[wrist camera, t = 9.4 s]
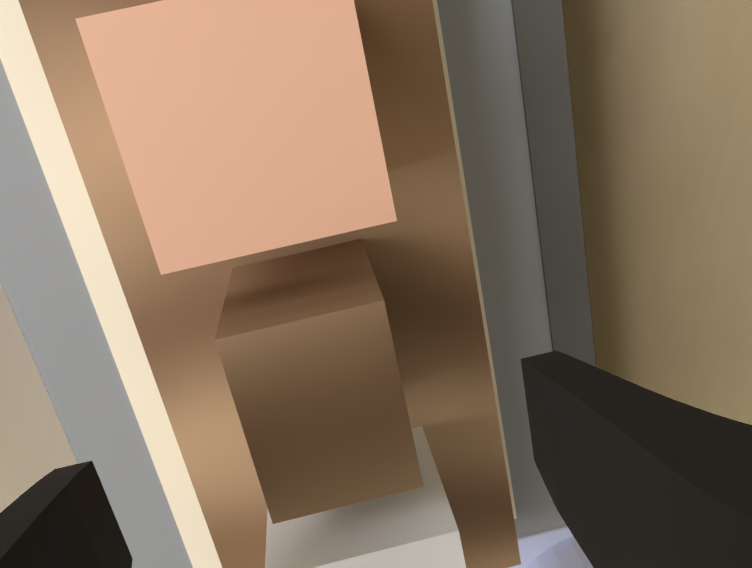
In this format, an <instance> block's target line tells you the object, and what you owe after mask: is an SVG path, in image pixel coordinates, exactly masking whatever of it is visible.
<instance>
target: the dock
mask: <svg viewBox="0 0 752 568" xmlns="http://www.w3.org/2000/svg"><path fill="white" fill-rule="evenodd" d="M432 1H433V7H434V14H435V20H436V27H437V33H438V39H439V46H440V52H441V58H442V65H443V71H444V77H445V84H446V90H447V96H448V103H449V109H450V115H451V122H452V128H453V134H454V141H455V147H456V154H457V160H458V166H459V173H460V179H461V185H462V192H463V198H464V204H465V211H466V217H467V223H468V230H469V236H470V242H471V249H472V255H473V261H474V268H475V274H476V281H477V287H478V293H479V300H480V306H481V312H482V319H483V325H484V331H485V338H486V344H487V350H488V357H489V363H490V369H491V376H492V382H493V389H494V395H495V401H496V408H497V414H498V420H499V427H500V433H501V439H502V446H503V452H504V458H505V465H506V471H507V477H508V484H509V490H510V496H511V503H512V509H513V516H514V522H515V528H516V534H520V533H524V532H528V531H532V530H536V529H540V528H544V527H548V526H552V525H556V524H560V523H564V520H563V519H562V517H561V515H560V514H559V512H558V511H557V509H556V506H555V504H554V502H553V500H552V498H551V496H550V494H549V492H548V490H547V488H546V485H545V483H544V481H543V479H542V477H541V474H540V472H539V470H538V468H537V466H536V463H535V461H534V455H533V448H532V440H531V433H530V425H529V418H528V411H527V403H526V396H525V388H524V381H523V373H522V366H521V359H522V358H526V357H531V356H535V355H539V354H543V353H548V352H552V351H559V352H561V353H564V354H567V355H569V356H572V357H574V358H576V359H579V360H581V361H583V362H585V363H588V364H590V365H592V366H594V367H596V361H595V351H594V340H593V329H592V319H591V308H590V297H589V286H588V276H587V265H586V254H585V244H584V233H583V222H582V212H581V201H580V190H579V180H578V169H577V158H576V148H575V137H574V126H573V115H572V105H571V94H570V83H569V73H568V62H567V51H566V41H565V30H564V19H563V9H562V0H432ZM0 282H1V285H2V287H3V289H4V292H5V294H6V296H7V299H8V301H9V303H10V306H11V308H12V310H13V313H14V315H15V317H16V320H17V322H18V324H19V327H20V329H21V332H22V334H23V336H24V339H25V341H26V343H27V346H28V348H29V350H30V353H31V355H32V357H33V360H34V362H35V364H36V367H37V369H38V371H39V374H40V376H41V378H42V381H43V383H44V385H45V388H46V390H47V393H48V395H49V397H50V400H51V402H52V404H53V407H54V409H55V411H56V414H57V416H58V418H59V421H60V423H61V425H62V428H63V430H64V432H65V435H66V437H67V439H68V442H69V444H70V446H71V449H72V451H73V454H74V456H75V458H76V461H77V463H78V464H80V463H84V462H88V461H93V464H94V466H95V469H96V471H97V474H98V476H99V478H100V481H101V483H102V486H103V488H104V491H105V493H106V495H107V498H108V500H109V503H110V505H111V508H112V510H113V512H114V515H115V517H116V520H117V522H118V525H119V527H120V529H121V532H122V534H123V537H124V539H125V542H126V544H127V546H128V549H129V551H130V554H131V556H132V559H133V560H132V568H222V565H221V562H220V560H219V557H218V554H217V551H216V548H215V546H214V543H213V540H212V537H211V535H210V532H209V529H208V526H207V523H206V521H205V518H204V515H203V512H202V510H201V507H200V504H199V501H198V498H197V496H196V493H195V490H194V487H193V485H192V482H191V479H190V476H189V473H188V471H187V468H186V465H185V462H184V459H183V457H182V454H181V451H180V448H179V446H178V443H177V440H176V437H175V434H174V432H173V429H172V426H171V423H170V421H169V418H168V415H167V412H166V409H165V407H164V404H163V401H162V398H161V396H160V393H159V390H158V387H157V384H156V382H155V379H154V376H153V373H152V371H151V368H150V365H149V362H148V359H147V357H146V354H145V351H144V348H143V345H142V343H141V340H140V337H139V334H138V332H137V329H136V326H135V323H134V320H133V318H132V315H131V312H130V309H129V307H128V304H127V301H126V298H125V295H124V293H123V290H122V287H121V284H120V282H119V279H118V276H117V273H116V270H115V268H114V265H113V262H112V259H111V257H110V254H109V251H108V248H107V245H106V243H105V240H104V237H103V234H102V232H101V229H100V226H99V223H98V220H97V218H96V215H95V212H94V209H93V206H92V204H91V201H90V198H89V195H88V193H87V190H86V187H85V184H84V181H83V179H82V176H81V173H80V170H79V168H78V165H77V162H76V159H75V156H74V154H73V151H72V148H71V145H70V143H69V140H68V137H67V134H66V131H65V129H64V126H63V123H62V120H61V118H60V115H59V112H58V109H57V106H56V104H55V101H54V98H53V95H52V92H51V90H50V87H49V84H48V81H47V79H46V76H45V73H44V70H43V67H42V65H41V62H40V59H39V56H38V54H37V51H36V48H35V45H34V42H33V40H32V37H31V34H30V31H29V29H28V26H27V23H26V20H25V17H24V15H23V12H22V9H21V6H20V4H19V1H18V0H0Z"/></svg>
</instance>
